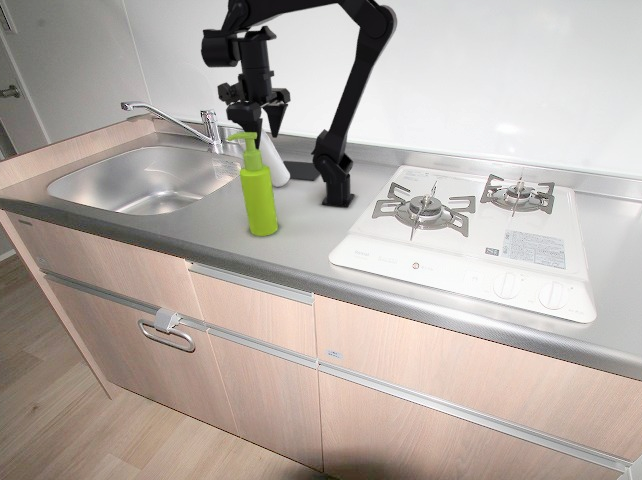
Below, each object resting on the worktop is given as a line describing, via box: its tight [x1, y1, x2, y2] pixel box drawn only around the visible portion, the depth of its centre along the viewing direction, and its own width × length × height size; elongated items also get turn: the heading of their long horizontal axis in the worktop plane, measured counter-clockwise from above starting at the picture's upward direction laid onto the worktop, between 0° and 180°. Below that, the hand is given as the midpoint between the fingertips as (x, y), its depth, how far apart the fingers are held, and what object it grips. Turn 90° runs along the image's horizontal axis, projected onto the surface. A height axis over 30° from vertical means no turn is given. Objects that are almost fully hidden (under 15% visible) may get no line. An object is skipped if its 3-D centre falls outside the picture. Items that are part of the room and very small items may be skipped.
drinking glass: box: [237, 127, 291, 188], centre depth 91 cm, size 7×7×15 cm
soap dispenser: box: [226, 131, 279, 237], centre depth 72 cm, size 6×7×20 cm
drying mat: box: [282, 160, 320, 182], centre depth 104 cm, size 12×14×1 cm
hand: (265, 143), depth 83 cm, fingers open, 9 cm apart
